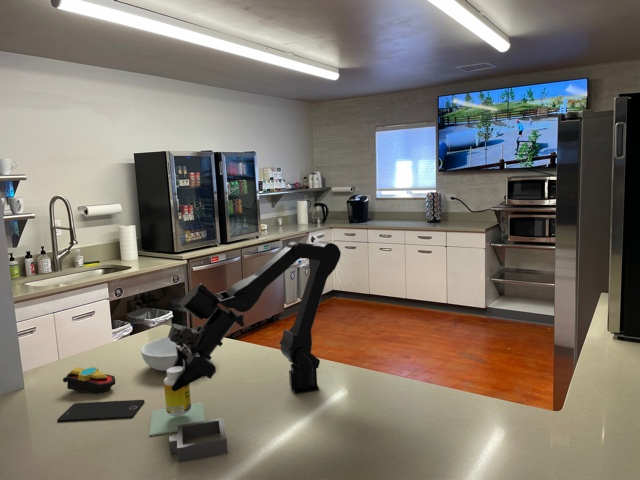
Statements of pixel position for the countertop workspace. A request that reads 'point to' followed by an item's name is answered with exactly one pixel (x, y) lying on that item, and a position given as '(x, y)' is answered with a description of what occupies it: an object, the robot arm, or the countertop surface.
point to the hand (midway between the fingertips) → (170, 385)
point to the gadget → (89, 380)
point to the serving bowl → (160, 353)
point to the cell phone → (101, 411)
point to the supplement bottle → (176, 394)
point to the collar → (199, 448)
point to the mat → (174, 419)
